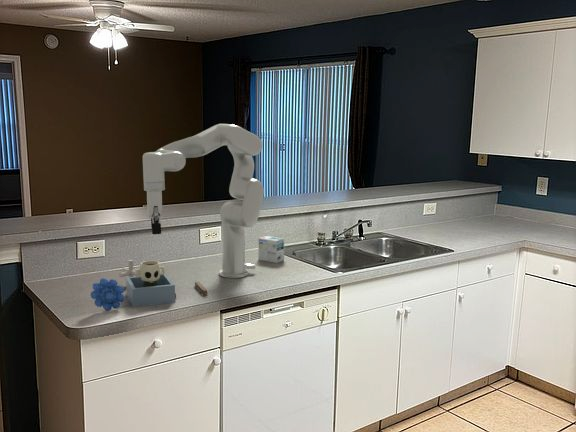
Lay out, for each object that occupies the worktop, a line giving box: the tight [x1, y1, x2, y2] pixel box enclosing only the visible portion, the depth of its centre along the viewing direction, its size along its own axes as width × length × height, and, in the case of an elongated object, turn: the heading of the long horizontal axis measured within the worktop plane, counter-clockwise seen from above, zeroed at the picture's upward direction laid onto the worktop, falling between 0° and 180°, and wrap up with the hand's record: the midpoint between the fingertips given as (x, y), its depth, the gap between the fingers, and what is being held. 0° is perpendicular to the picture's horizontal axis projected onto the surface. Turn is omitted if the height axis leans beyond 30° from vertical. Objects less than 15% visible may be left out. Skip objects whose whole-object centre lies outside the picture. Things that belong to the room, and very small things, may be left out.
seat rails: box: [175, 280, 208, 300], centre depth 223 cm, size 14×12×2 cm
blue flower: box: [90, 277, 126, 312], centre depth 200 cm, size 12×7×12 cm, turn 119°
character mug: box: [134, 260, 166, 287], centre depth 215 cm, size 11×7×13 cm, turn 118°
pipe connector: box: [118, 259, 141, 278], centre depth 230 cm, size 10×10×10 cm
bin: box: [125, 273, 176, 308], centre depth 215 cm, size 15×15×7 cm
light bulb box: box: [257, 235, 285, 264], centre depth 272 cm, size 11×7×11 cm, turn 58°
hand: (156, 231), depth 217 cm, fingers open, 9 cm apart
